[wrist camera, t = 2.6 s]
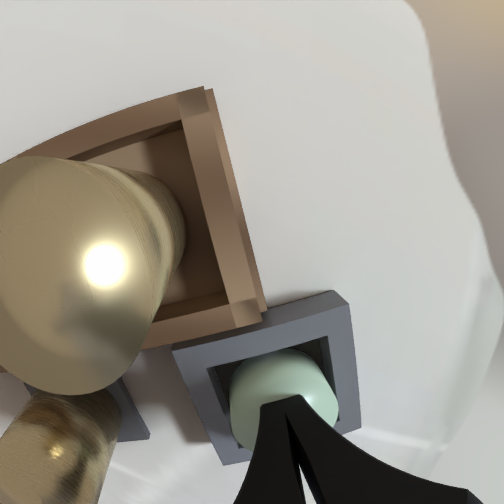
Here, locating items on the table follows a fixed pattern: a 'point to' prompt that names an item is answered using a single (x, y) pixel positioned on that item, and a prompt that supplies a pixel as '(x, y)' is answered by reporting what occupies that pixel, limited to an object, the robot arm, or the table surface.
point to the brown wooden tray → (192, 200)
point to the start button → (276, 390)
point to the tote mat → (131, 419)
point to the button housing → (264, 341)
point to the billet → (59, 448)
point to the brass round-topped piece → (81, 269)
